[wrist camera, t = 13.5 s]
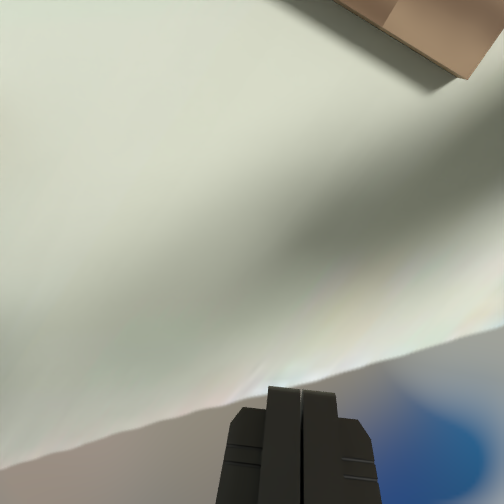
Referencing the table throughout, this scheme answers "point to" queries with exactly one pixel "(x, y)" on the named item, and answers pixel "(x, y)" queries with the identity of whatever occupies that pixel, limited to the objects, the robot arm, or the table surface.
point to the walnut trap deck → (437, 28)
